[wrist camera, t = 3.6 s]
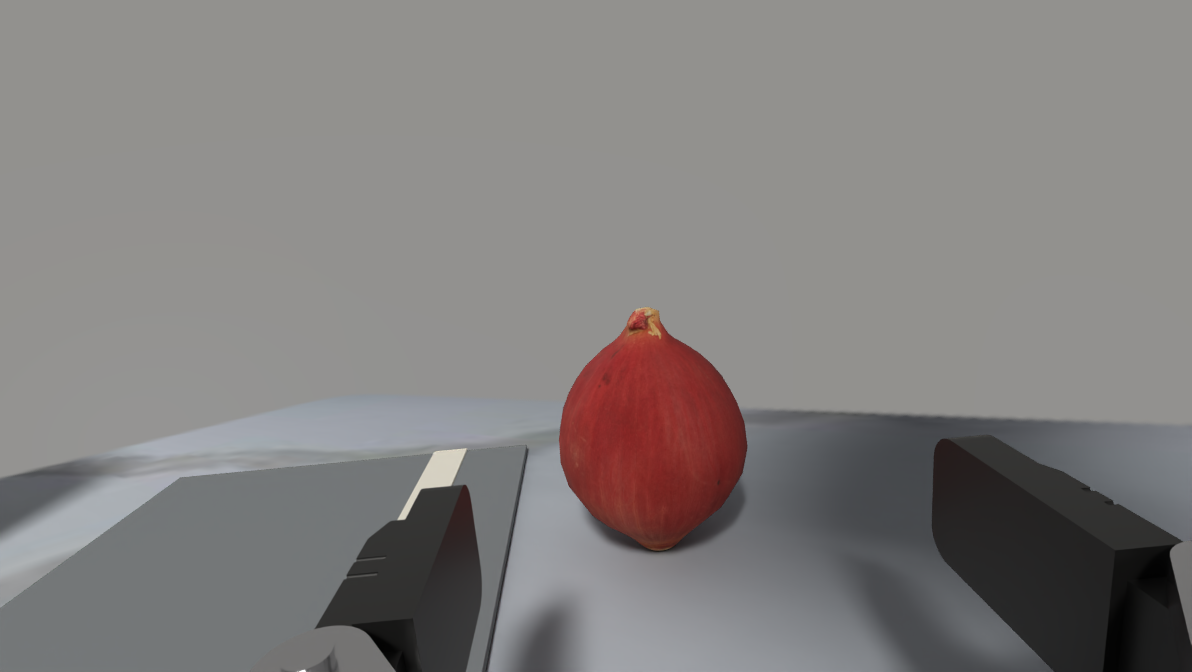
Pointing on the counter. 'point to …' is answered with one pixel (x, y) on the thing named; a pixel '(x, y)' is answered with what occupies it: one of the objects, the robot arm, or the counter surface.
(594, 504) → the onion
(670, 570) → the counter surface
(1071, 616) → the robot arm
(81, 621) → the mat
